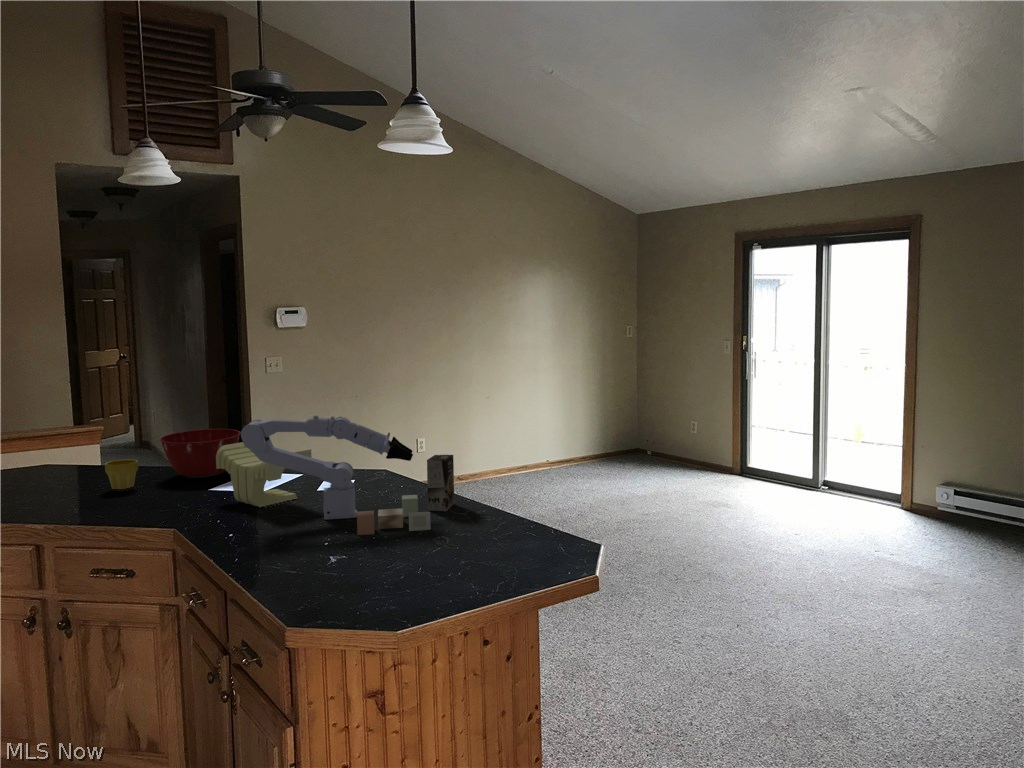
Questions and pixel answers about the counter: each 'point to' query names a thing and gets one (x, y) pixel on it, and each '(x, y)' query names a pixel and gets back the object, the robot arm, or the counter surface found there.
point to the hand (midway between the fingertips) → (411, 455)
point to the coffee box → (440, 482)
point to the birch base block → (390, 518)
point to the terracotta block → (365, 522)
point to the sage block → (409, 504)
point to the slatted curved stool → (252, 475)
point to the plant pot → (121, 473)
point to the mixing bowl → (197, 450)
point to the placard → (419, 521)
